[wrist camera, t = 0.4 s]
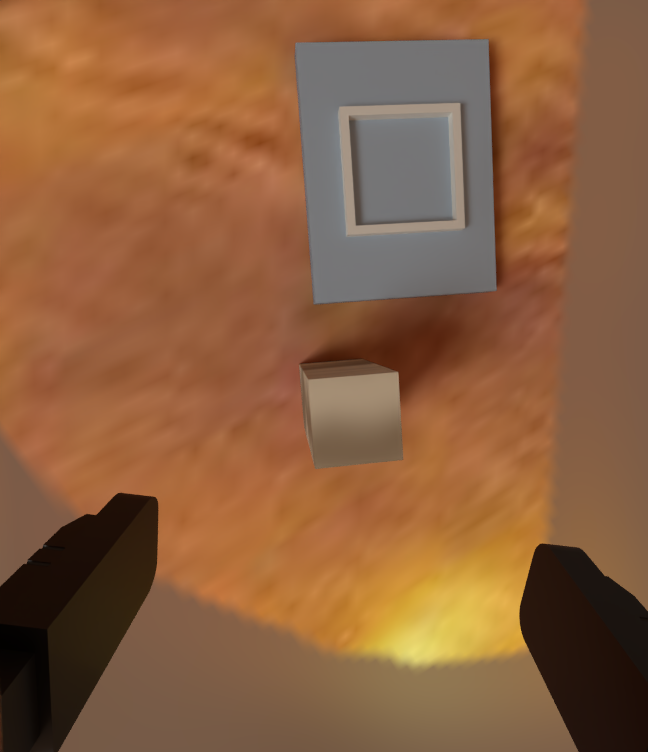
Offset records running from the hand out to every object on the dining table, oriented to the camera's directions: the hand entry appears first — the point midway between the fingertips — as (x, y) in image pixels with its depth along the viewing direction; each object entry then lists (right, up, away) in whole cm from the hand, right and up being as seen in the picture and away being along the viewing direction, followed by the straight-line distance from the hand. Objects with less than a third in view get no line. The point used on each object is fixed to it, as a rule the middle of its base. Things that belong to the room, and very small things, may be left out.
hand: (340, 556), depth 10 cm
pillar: (0, +3, +26) cm, 27 cm away
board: (+5, +19, +25) cm, 32 cm away
